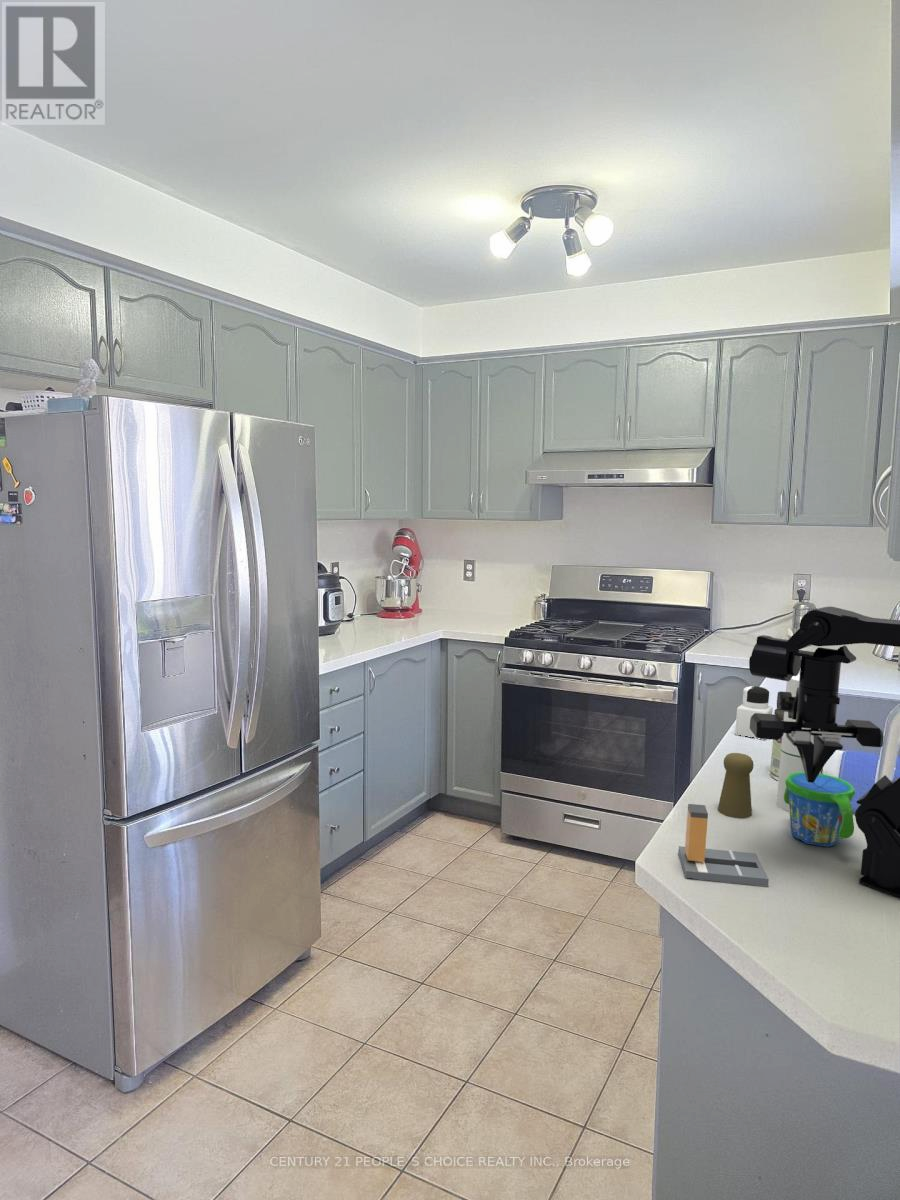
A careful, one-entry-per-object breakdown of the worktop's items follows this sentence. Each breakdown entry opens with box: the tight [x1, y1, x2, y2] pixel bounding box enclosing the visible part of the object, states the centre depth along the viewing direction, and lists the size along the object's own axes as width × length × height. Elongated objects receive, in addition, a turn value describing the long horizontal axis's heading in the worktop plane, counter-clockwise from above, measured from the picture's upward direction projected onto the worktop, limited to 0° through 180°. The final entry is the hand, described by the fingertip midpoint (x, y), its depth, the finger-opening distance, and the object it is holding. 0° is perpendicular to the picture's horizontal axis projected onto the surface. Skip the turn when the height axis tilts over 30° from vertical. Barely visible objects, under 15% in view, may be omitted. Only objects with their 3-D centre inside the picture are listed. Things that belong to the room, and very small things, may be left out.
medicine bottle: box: [734, 685, 773, 739], centre depth 200 cm, size 7×7×12 cm
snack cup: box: [784, 772, 856, 847], centre depth 138 cm, size 16×10×10 cm
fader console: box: [677, 845, 770, 887], centre depth 125 cm, size 12×9×1 cm
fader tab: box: [684, 803, 709, 862], centre depth 126 cm, size 2×4×9 cm
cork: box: [717, 752, 755, 819], centre depth 149 cm, size 6×6×11 cm
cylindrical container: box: [776, 673, 821, 813], centre depth 151 cm, size 7×7×25 cm
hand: (810, 781), depth 128 cm, fingers closed
